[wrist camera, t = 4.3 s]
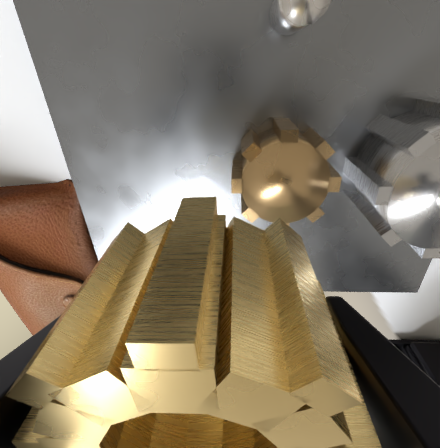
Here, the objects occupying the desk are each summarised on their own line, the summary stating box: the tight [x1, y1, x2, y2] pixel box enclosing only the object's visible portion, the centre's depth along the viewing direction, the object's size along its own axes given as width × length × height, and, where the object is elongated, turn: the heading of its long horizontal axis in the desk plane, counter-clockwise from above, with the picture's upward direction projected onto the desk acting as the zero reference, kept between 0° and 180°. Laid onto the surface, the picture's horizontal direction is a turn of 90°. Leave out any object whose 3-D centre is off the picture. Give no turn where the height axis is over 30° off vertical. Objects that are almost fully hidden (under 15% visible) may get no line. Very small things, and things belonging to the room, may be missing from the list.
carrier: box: [13, 0, 440, 292], centre depth 15 cm, size 20×24×6 cm
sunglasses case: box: [0, 179, 98, 335], centre depth 23 cm, size 18×7×7 cm, turn 9°
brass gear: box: [5, 197, 382, 448], centre depth 7 cm, size 7×7×4 cm
